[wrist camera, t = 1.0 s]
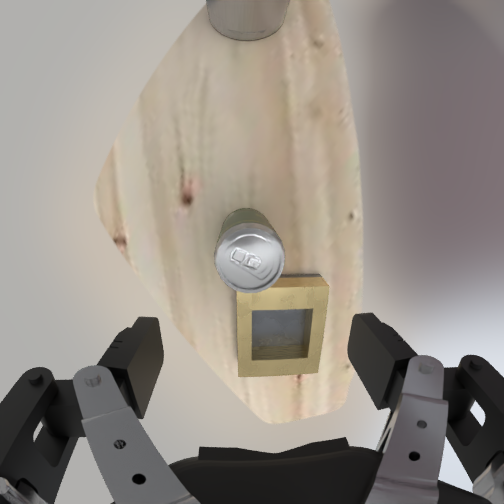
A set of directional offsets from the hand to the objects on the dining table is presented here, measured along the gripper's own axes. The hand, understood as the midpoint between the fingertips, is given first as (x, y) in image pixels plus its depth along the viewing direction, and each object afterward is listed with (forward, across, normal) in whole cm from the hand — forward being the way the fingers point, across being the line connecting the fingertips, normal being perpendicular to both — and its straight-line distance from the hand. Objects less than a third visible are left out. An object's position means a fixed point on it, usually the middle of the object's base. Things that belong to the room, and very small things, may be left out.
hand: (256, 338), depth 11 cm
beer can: (+22, 0, 0) cm, 22 cm away
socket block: (+22, -4, +11) cm, 25 cm away
